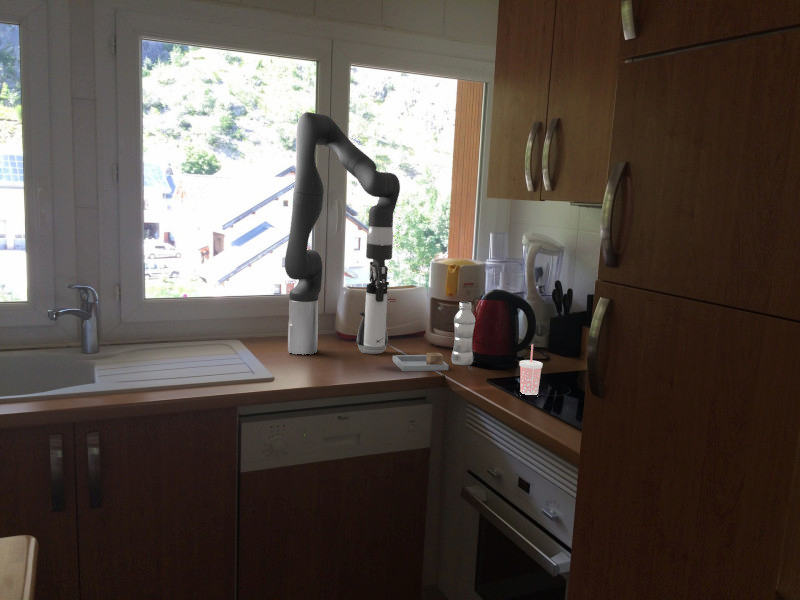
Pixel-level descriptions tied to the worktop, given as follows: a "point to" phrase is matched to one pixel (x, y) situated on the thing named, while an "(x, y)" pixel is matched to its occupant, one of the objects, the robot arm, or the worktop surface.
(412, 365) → the tray
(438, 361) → the walnut block
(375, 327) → the travel mug
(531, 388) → the beverage cup
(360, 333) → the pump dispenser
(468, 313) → the plastic bottle
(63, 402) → the worktop surface
